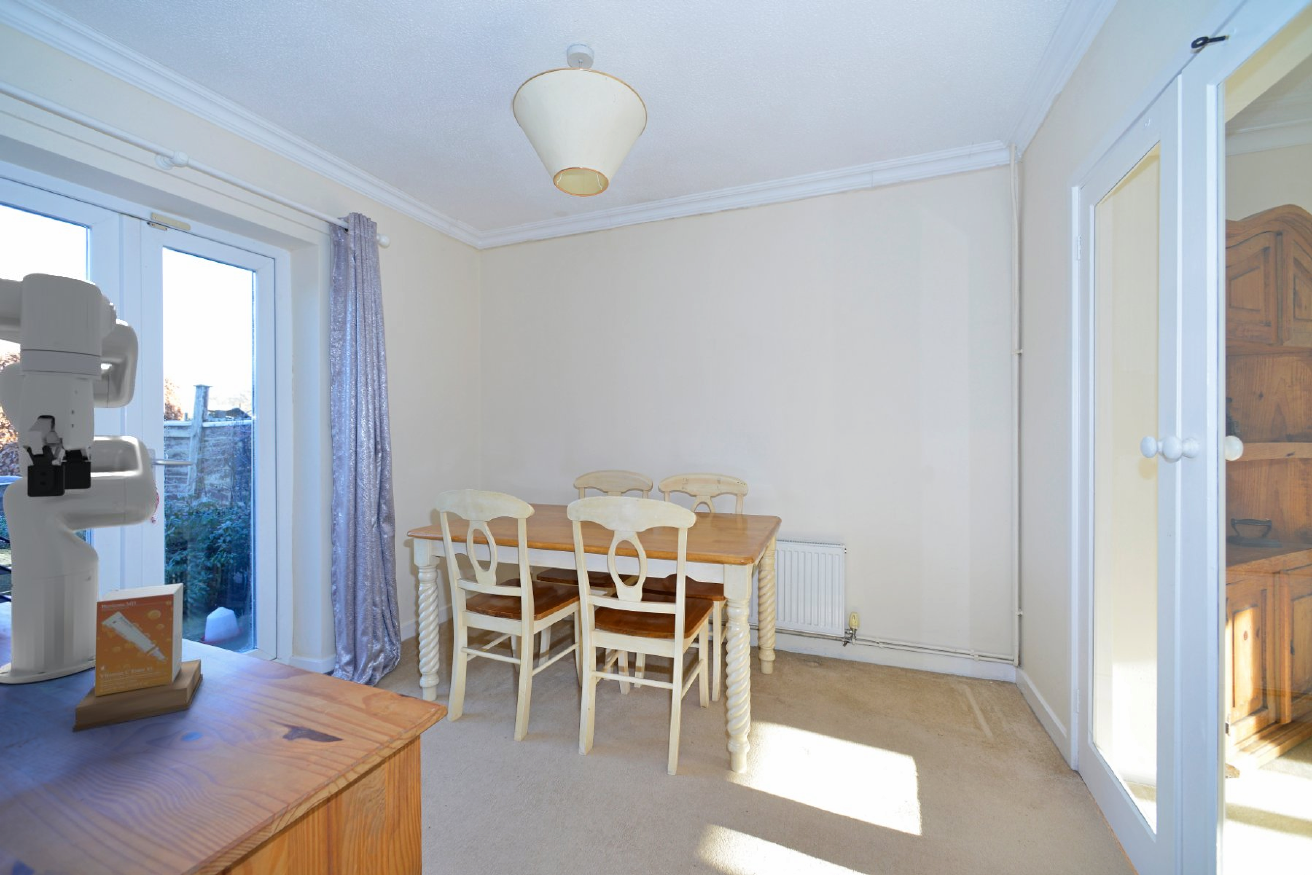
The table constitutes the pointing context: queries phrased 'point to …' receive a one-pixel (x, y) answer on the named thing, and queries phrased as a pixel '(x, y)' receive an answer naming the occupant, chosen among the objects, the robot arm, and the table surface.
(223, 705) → the table surface
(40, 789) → the table surface
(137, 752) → the table surface
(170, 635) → the small box
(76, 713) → the plinth
